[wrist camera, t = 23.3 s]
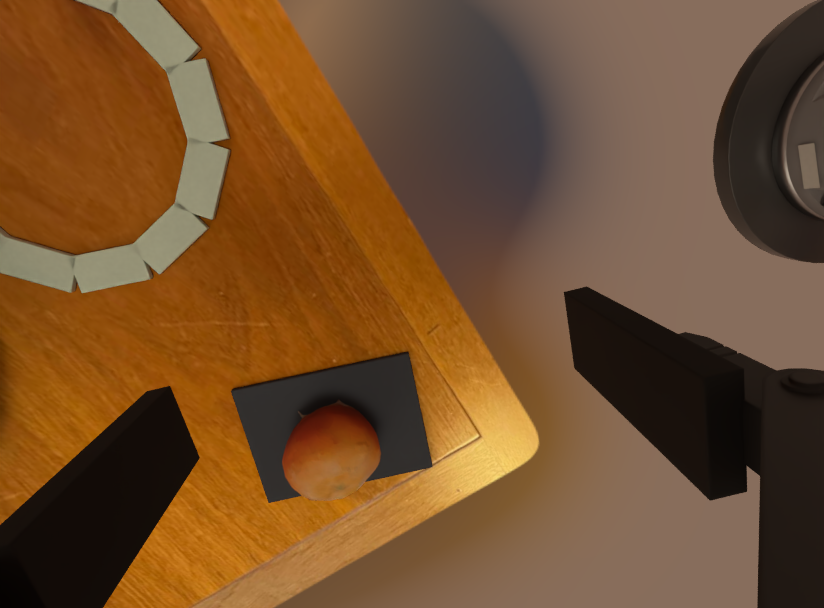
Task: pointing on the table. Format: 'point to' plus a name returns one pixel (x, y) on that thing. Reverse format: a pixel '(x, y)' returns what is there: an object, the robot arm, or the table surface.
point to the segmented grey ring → (198, 181)
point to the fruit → (331, 453)
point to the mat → (351, 384)
